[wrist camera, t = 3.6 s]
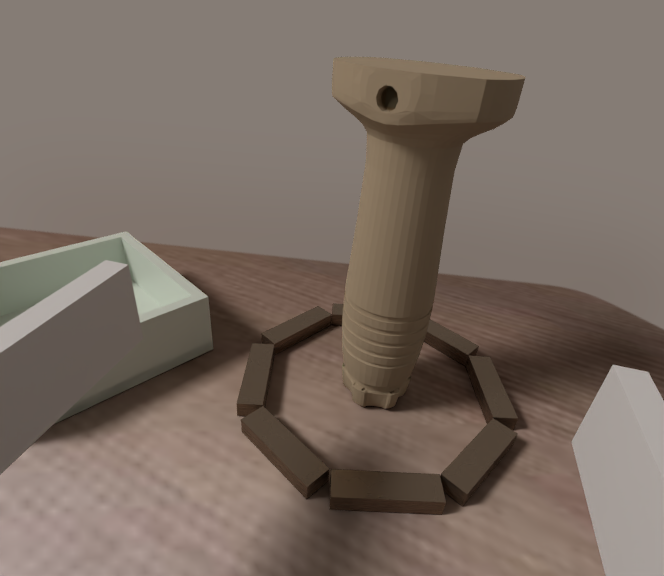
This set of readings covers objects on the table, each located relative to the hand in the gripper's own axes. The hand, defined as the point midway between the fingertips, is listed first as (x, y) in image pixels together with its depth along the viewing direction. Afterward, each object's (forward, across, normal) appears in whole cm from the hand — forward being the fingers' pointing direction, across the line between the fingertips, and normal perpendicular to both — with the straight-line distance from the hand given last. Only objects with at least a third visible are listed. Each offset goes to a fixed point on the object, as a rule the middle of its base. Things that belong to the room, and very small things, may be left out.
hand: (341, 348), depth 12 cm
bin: (+6, -16, -8) cm, 19 cm away
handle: (+7, +1, -9) cm, 11 cm away
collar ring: (+7, 0, -8) cm, 11 cm away
